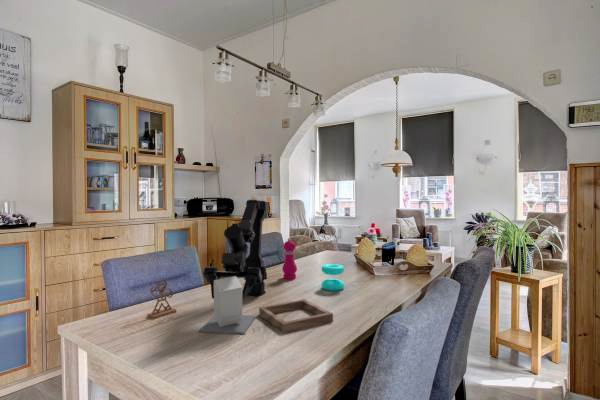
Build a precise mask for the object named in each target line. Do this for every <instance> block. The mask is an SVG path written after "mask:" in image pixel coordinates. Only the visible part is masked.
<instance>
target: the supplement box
mask: <svg viewBox="0 0 600 400" xmlns="http://www.w3.org/2000/svg"><path fill="white" fill-rule="evenodd" d="M243 288H244V286H243V285H242V284H241V282H240V281H239V278H237V277H236V276H232V277H221V278H220V279H218V280H214V299H213V314H214V315H215V317H216V320H217V322H218V324H219V327H223V326H227V325H231V324H234V323H239V322H242V315H243V299H242V294H243ZM214 315H213V316H214Z"/></svg>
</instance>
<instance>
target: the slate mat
mask: <svg viewBox="0 0 600 400" xmlns="http://www.w3.org/2000/svg"><path fill="white" fill-rule="evenodd" d="M256 318H257V316H256V315H248V314H246V315H244V314H242V322H239V323H234V324H231V325H227V326H223V327H219V324H218V322H217V320H216V317H215V315H213V316H212V317H211V318H210V319H209V320H208V321H206V323H205V324H204V325H202V326H201V327H200V329H198V333H203V334H206V333H207V334H223V335H224V334H225V335H226V334H227V335H228V334H229V335H230V334H231V335H245V334H246V333H247V331H248V329H249V328H250V327H251V326H252V323H254V321H255V320H256Z"/></svg>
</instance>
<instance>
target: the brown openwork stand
mask: <svg viewBox="0 0 600 400" xmlns="http://www.w3.org/2000/svg"><path fill="white" fill-rule="evenodd" d="M162 281H163V282H162ZM160 282H162V283H160ZM155 286H156V287H155ZM155 286H151V287H150V290H149V291H150V294H151V296H153V297H156V303H155V306H154V308H153V310H152V312H150V313H147V315H146V318H147V319H150V320H156V319H159V318H162V317H165V316H166V317H167V316H168V315H171V314H175V313H177V309H176V308H173V307H171V305H170V303H169V301H168V300H167V298H169V299H170V298H172V297H173V296H174V294H173V290H171V288H168V287H167V286H168V283H167V281H166V280H164V279H160V280H158V281H157V283H156V285H155ZM161 286H162V287H161ZM166 290H168V291H169V293H166V292H165V291H166ZM154 292H157V293H159V295H155V294H154ZM160 295H161V296H160ZM163 295H164V297H163ZM163 301H165V303H166V304H167V305H166V306H165V305H164V303H163ZM159 303H160V305H159ZM158 305H159V307H158ZM157 307H158V308H157ZM161 308H163V309H161Z"/></svg>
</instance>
